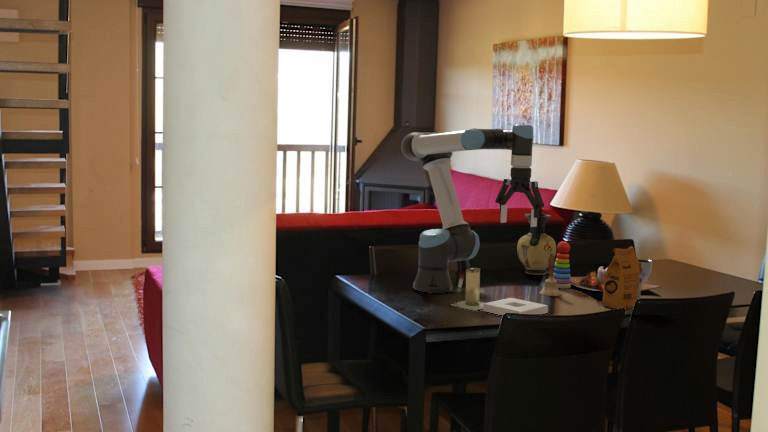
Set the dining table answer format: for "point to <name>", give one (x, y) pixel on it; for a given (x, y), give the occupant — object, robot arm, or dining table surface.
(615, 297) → the coffee package
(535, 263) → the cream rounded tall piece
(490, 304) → the housing
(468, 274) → the beige cylinder
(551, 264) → the hand bell
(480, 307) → the mat
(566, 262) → the stacking toy
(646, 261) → the wine glass
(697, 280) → the dining table surface
